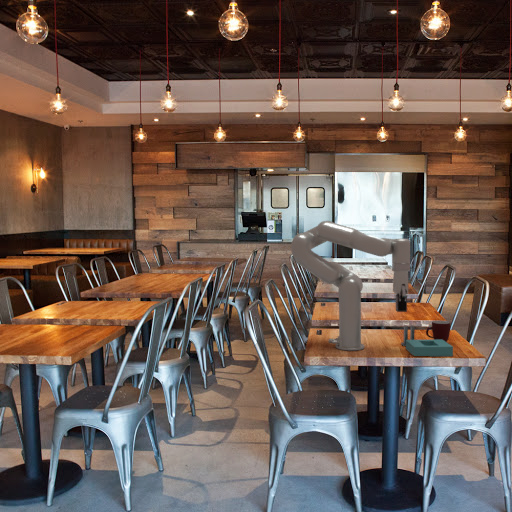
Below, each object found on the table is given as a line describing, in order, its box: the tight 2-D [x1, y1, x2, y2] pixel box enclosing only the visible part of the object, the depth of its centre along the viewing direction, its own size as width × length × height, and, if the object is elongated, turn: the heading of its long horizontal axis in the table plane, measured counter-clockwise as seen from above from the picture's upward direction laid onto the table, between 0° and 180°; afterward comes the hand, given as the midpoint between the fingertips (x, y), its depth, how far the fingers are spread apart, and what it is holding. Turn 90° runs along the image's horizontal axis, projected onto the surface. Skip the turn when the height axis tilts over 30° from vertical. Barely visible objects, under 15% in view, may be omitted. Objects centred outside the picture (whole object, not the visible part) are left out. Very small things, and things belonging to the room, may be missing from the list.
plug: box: [395, 293, 408, 313], centre depth 250 cm, size 4×4×9 cm
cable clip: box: [400, 324, 415, 347], centre depth 260 cm, size 6×4×9 cm, turn 90°
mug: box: [425, 320, 452, 343], centre depth 263 cm, size 10×8×10 cm
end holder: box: [405, 339, 454, 357], centre depth 248 cm, size 16×14×4 cm
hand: (401, 309), depth 250 cm, fingers closed on plug, 4 cm apart
